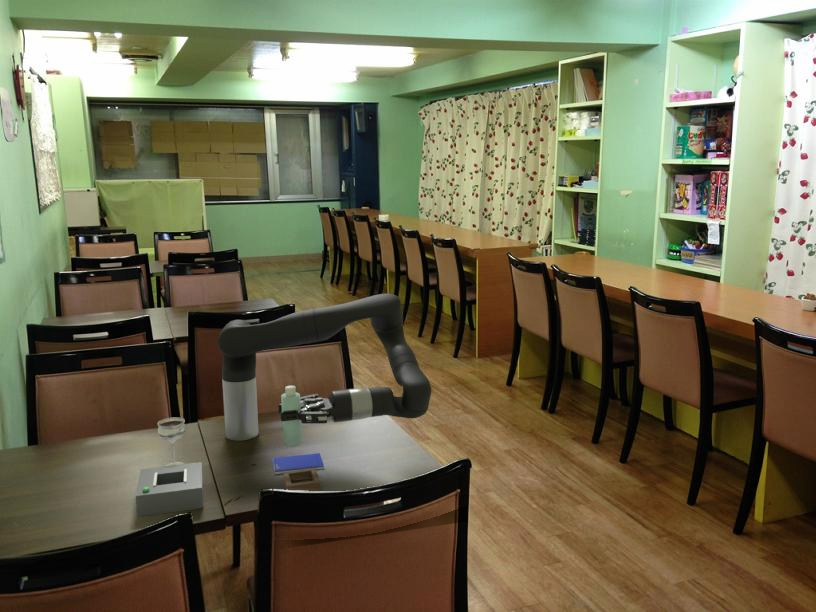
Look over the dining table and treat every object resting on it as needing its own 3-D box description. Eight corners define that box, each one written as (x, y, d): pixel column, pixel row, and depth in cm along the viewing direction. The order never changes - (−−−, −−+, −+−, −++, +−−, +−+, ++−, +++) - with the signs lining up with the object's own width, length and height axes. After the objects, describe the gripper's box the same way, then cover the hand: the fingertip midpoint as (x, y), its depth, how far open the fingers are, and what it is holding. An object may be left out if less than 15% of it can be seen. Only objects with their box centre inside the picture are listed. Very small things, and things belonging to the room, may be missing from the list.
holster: (283, 479, 169) (282, 472, 169) (315, 475, 172) (315, 468, 171) (287, 494, 162) (286, 486, 161) (320, 489, 164) (320, 482, 164)
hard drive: (274, 470, 172) (323, 465, 175) (272, 457, 180) (319, 452, 183) (274, 476, 173) (324, 470, 176) (272, 462, 180) (319, 457, 183)
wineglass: (168, 474, 172) (165, 429, 170) (155, 466, 177) (152, 422, 174) (193, 465, 177) (190, 421, 175) (179, 458, 182) (176, 415, 179)
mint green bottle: (282, 440, 165) (279, 385, 162) (301, 437, 166) (298, 383, 163) (284, 447, 161) (281, 391, 158) (303, 445, 162) (300, 389, 159)
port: (142, 488, 165) (140, 466, 164) (203, 480, 169) (201, 459, 168) (137, 516, 152) (135, 493, 150) (203, 507, 156) (201, 485, 154)
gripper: (357, 430, 160) (283, 439, 155) (345, 408, 173) (277, 416, 169) (356, 400, 158) (281, 408, 154) (344, 380, 172) (275, 387, 167)
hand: (279, 412), depth 161 cm, fingers closed on mint green bottle, 4 cm apart
